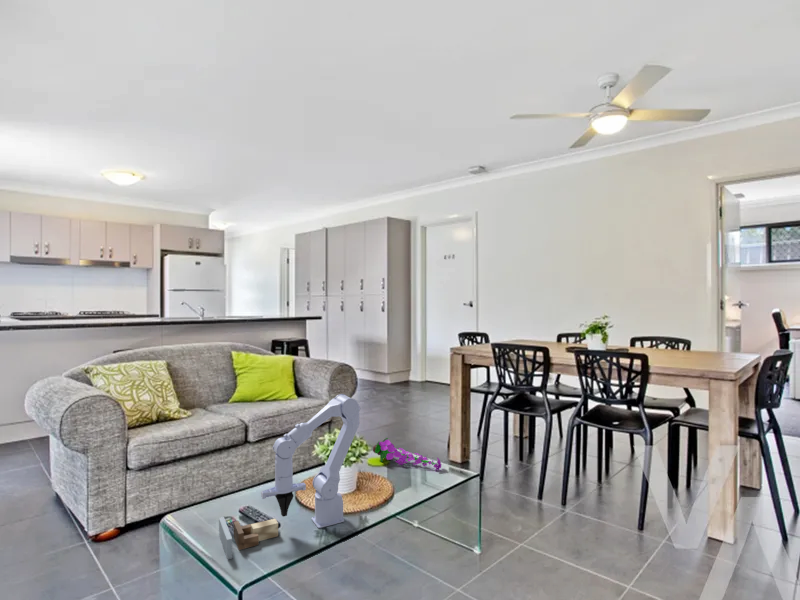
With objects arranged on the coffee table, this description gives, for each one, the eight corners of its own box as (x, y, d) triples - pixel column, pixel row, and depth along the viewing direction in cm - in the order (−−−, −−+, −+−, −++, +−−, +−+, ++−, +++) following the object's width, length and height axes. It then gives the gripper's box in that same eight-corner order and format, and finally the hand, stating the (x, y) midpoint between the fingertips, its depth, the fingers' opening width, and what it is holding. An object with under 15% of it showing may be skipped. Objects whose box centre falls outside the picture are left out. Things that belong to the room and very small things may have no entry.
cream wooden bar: (275, 531, 158) (275, 518, 158) (278, 536, 155) (278, 522, 155) (250, 538, 154) (250, 524, 154) (253, 543, 151) (253, 529, 151)
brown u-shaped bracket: (252, 532, 157) (252, 517, 157) (258, 544, 149) (258, 529, 149) (233, 537, 154) (233, 521, 154) (238, 550, 146) (238, 534, 146)
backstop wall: (223, 534, 156) (223, 516, 156) (232, 558, 142) (232, 538, 142) (219, 535, 155) (218, 517, 155) (227, 559, 141) (227, 539, 141)
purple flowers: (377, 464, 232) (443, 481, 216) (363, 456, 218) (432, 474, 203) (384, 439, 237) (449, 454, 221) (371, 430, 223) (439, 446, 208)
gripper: (301, 466, 164) (301, 505, 165) (259, 474, 157) (259, 515, 158) (307, 473, 158) (307, 513, 158) (264, 481, 151) (264, 524, 151)
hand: (284, 515), depth 158 cm, fingers closed
